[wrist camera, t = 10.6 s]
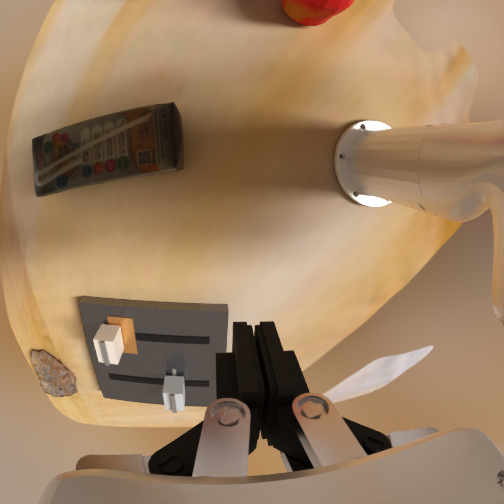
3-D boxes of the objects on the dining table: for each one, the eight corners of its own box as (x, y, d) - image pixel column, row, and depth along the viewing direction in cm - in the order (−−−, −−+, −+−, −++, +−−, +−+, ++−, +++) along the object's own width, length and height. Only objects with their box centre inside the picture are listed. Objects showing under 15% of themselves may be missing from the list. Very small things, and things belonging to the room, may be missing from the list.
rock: (86, 384, 42) (55, 350, 37) (75, 408, 37) (40, 375, 32) (59, 378, 43) (30, 346, 38) (48, 400, 38) (17, 368, 33)
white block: (183, 376, 40) (182, 396, 36) (185, 393, 41) (184, 413, 37) (165, 375, 39) (162, 395, 35) (167, 392, 41) (165, 411, 36)
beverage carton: (52, 138, 29) (26, 136, 23) (182, 109, 31) (176, 97, 25) (56, 193, 31) (32, 200, 25) (186, 169, 34) (181, 171, 27)
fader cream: (120, 325, 36) (112, 344, 32) (124, 347, 37) (117, 366, 33) (101, 323, 35) (91, 341, 31) (106, 345, 36) (97, 364, 32)
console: (227, 304, 40) (228, 311, 38) (222, 398, 46) (223, 407, 44) (83, 295, 36) (78, 302, 34) (106, 390, 42) (103, 398, 40)
